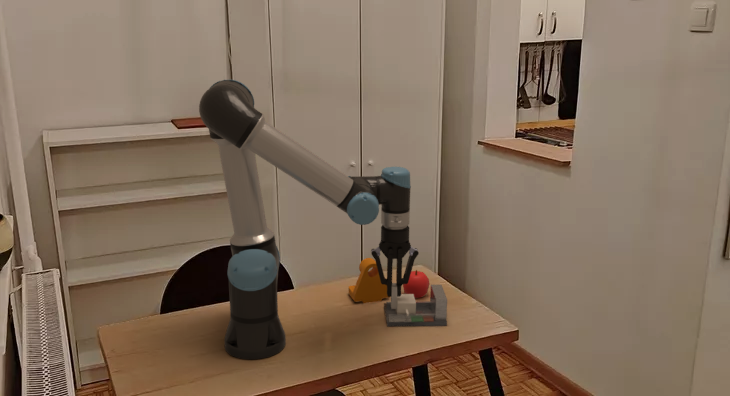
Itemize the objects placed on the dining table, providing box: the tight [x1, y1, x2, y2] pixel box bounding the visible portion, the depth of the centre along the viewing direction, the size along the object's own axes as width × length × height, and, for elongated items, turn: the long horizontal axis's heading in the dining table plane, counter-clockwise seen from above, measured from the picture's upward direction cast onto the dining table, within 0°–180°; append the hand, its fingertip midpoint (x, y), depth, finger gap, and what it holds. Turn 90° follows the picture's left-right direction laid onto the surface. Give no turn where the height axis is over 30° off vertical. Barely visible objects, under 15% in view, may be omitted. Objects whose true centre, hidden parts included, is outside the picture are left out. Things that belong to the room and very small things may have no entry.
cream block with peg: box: [396, 293, 417, 316], centre depth 180 cm, size 5×9×4 cm, turn 3°
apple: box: [402, 269, 430, 299], centre depth 195 cm, size 8×8×8 cm
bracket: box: [348, 257, 391, 304], centre depth 193 cm, size 11×7×12 cm, turn 108°
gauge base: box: [383, 284, 448, 328], centre depth 182 cm, size 16×12×7 cm
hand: (393, 306), depth 182 cm, fingers closed
